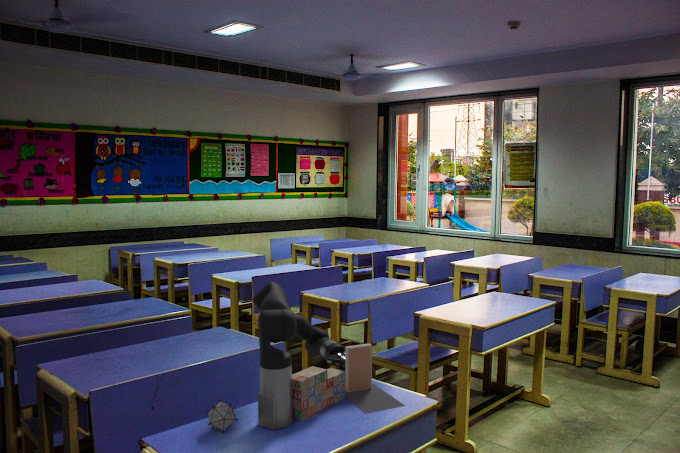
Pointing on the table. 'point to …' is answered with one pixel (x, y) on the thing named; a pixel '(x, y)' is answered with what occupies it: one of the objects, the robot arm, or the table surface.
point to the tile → (358, 367)
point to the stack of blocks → (316, 390)
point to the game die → (221, 416)
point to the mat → (372, 400)
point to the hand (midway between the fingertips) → (353, 366)
